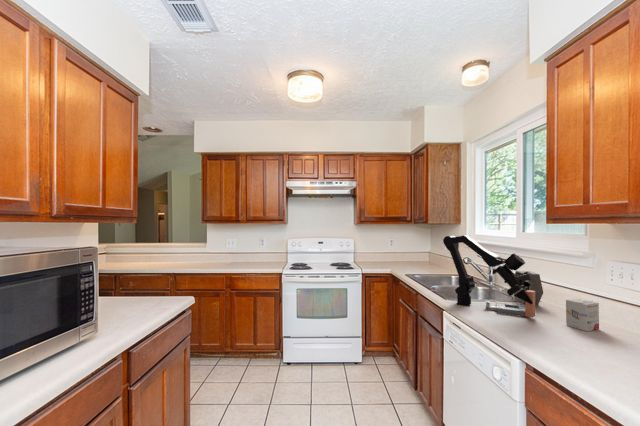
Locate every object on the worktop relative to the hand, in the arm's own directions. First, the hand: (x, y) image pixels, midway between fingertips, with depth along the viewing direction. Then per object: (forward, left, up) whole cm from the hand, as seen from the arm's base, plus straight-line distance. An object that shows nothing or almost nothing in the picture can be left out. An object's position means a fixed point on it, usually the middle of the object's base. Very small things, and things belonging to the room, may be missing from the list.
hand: (533, 302), depth 149 cm
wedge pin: (-1, +1, -7) cm, 7 cm away
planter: (+1, +34, -8) cm, 35 cm away
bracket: (-18, +8, -8) cm, 21 cm away
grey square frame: (-8, +10, -8) cm, 16 cm away
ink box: (+18, -2, -8) cm, 20 cm away
